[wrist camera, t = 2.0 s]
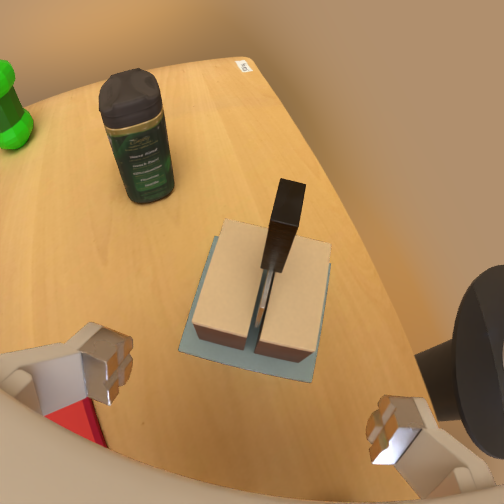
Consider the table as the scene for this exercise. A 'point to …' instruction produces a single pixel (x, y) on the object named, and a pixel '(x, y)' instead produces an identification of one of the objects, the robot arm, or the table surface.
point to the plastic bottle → (12, 112)
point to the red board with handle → (80, 420)
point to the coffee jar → (138, 134)
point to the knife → (280, 233)
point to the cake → (247, 303)
